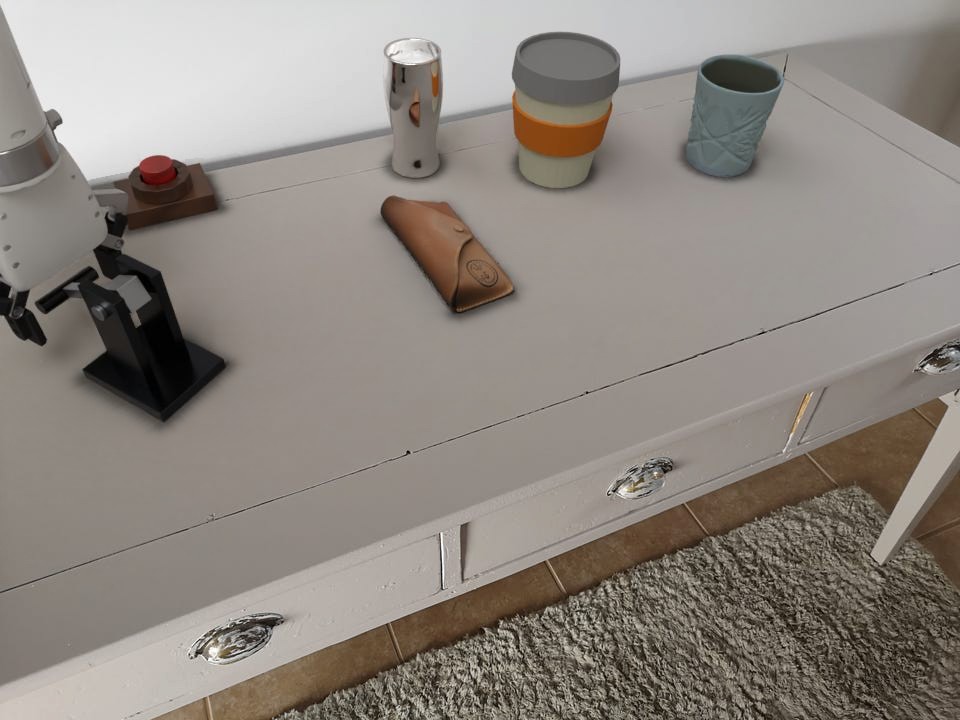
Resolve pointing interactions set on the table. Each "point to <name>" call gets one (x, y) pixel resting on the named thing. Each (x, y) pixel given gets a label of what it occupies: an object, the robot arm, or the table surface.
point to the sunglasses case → (447, 252)
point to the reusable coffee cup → (562, 104)
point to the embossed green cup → (730, 112)
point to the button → (157, 170)
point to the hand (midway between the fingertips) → (77, 308)
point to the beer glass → (413, 103)
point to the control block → (167, 196)
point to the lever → (120, 285)
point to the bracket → (146, 346)
